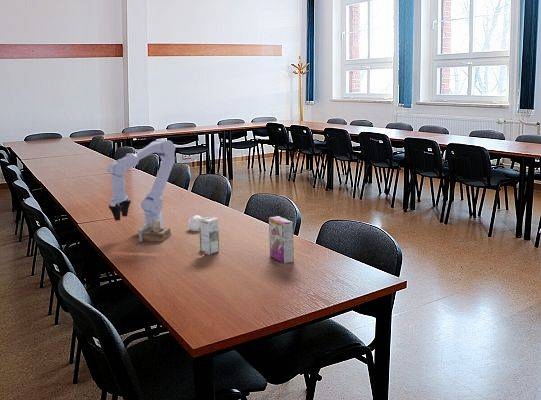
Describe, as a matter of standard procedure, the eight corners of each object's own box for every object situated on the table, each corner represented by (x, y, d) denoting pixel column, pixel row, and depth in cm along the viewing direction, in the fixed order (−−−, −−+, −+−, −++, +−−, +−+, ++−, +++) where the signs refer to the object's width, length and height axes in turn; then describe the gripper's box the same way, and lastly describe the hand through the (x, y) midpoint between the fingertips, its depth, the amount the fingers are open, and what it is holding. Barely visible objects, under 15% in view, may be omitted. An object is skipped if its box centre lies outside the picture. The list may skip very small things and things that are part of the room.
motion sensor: (186, 233, 259) (185, 217, 258) (191, 229, 267) (190, 213, 265) (202, 234, 258) (202, 218, 256) (207, 229, 265) (206, 214, 264)
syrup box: (209, 249, 235) (208, 216, 232) (220, 251, 231) (218, 218, 228) (200, 252, 231) (198, 218, 227) (210, 255, 227) (208, 221, 224)
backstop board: (147, 236, 256) (146, 224, 255) (190, 237, 252) (189, 225, 251) (137, 243, 245) (136, 230, 244) (182, 245, 242) (181, 231, 240)
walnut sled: (152, 234, 255) (151, 227, 254) (170, 235, 253) (170, 228, 252) (143, 241, 245) (142, 233, 244) (162, 241, 244) (162, 233, 243)
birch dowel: (154, 234, 251) (153, 219, 249) (162, 235, 250) (161, 220, 249) (151, 237, 247) (150, 221, 246) (159, 237, 247) (158, 222, 245)
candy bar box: (269, 256, 223) (268, 217, 220) (279, 254, 226) (278, 215, 222) (283, 264, 214) (282, 223, 210) (294, 262, 216) (293, 221, 213)
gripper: (117, 185, 257) (119, 214, 260) (102, 192, 243) (105, 222, 246) (131, 185, 256) (134, 214, 259) (118, 192, 242) (120, 222, 245)
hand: (121, 218), depth 252 cm, fingers open, 7 cm apart
